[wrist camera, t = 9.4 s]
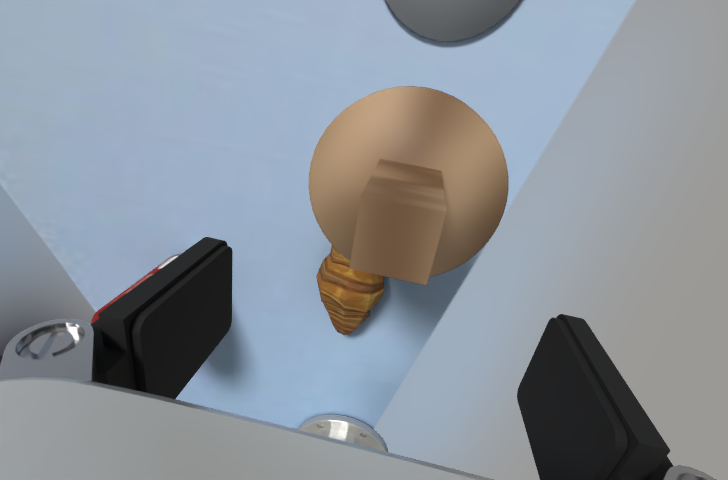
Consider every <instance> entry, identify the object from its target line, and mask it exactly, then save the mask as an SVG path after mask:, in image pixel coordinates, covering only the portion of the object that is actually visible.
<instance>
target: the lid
mask: <svg viewBox="0 0 728 480" xmlns="http://www.w3.org/2000/svg"><path fill="white" fill-rule="evenodd" d="M309 194H310V201H311V205H312V209H313V212H314V215H315V218H316V220H317V222H318V224H319V226H320V228H321V230H322V232H323V233H324V235H325V236H326V238H327V239H328V240H329V242H330V243H331V244H332V245H333V246H334V247H335V248H336V250H337V251H339V252H340V253H341V254H342V255H343V256H344V257H345V258H347V259H348V260H350V267H349V269H354V270H358V271H363V272H367V273H372V274H377V275H381V276H386V277H390V278H395V279H399V280H404V281H409V282H413V283H418V284H422V285H427V282H428V278H429V277H432V276H435V275H439V274H442V273H445V272H447V271H450V270H452V269H454V268H456V267H458V266H460V265H461V264H463V263H465V262H466V261H468V260H469V259H470V258H472V257H473V256H474V255H476V254H477V253H478V252H479V251H480V250H481V249H482V248H483V247H484V246H485V244H486V243H487V242H488V241H489V239H490V238H491V237H492V235H493V234H494V232H495V230H496V229H497V227H498V225H499V223H500V221H501V218H502V216H503V213H504V210H505V206H506V202H507V196H508V171H507V164H506V160H505V157H504V154H503V150H502V148H501V146H500V144H499V142H498V140H497V138H496V136H495V134H494V133H493V131H492V130H491V129H490V127H489V126H488V124H487V123H486V122H485V121H484V120H483V119H482V118H481V117H480V116H479V115H478V114H477V113H476V112H475V111H474V110H473V109H472V108H470V107H469V106H468V105H467V104H465V103H464V102H462V101H460V100H459V99H457V98H455V97H454V96H451V95H449V94H446V93H444V92H441V91H438V90H434V89H430V88H425V87H415V86H406V87H395V88H389V89H385V90H381V91H378V92H375V93H372V94H370V95H368V96H366V97H364V98H362V99H360V100H358V101H356V102H355V103H353V104H352V105H350V106H349V107H347V108H346V109H345V110H344V111H343V112H341V113H340V114H339V115H338V116H337V117H336V118H335V119H334V120H333V121H332V123H331V124H330V125H329V126H328V127H327V129H326V130H325V132H324V133H323V135H322V136H321V138H320V140H319V142H318V144H317V146H316V149H315V151H314V154H313V158H312V161H311V166H310V172H309Z"/></svg>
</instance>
